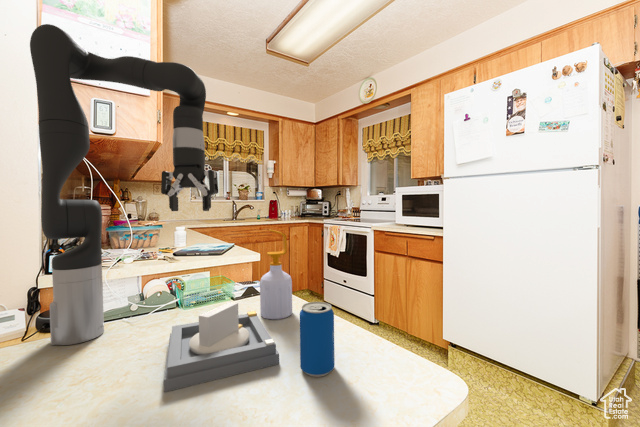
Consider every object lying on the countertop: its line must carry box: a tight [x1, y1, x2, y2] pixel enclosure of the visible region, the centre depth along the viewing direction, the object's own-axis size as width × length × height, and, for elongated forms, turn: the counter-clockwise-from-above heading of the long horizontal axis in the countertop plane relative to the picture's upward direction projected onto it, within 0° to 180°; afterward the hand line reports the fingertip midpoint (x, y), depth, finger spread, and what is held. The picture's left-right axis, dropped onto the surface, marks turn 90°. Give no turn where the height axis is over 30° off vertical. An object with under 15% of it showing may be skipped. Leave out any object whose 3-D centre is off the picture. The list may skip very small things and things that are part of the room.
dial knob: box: [189, 301, 249, 355], centre depth 62 cm, size 12×12×7 cm
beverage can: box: [299, 301, 335, 378], centre depth 55 cm, size 6×6×12 cm
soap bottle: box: [259, 228, 293, 320], centre depth 83 cm, size 9×9×25 cm
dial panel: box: [163, 310, 280, 393], centre depth 62 cm, size 20×20×4 cm
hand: (190, 211), depth 76 cm, fingers open, 8 cm apart
